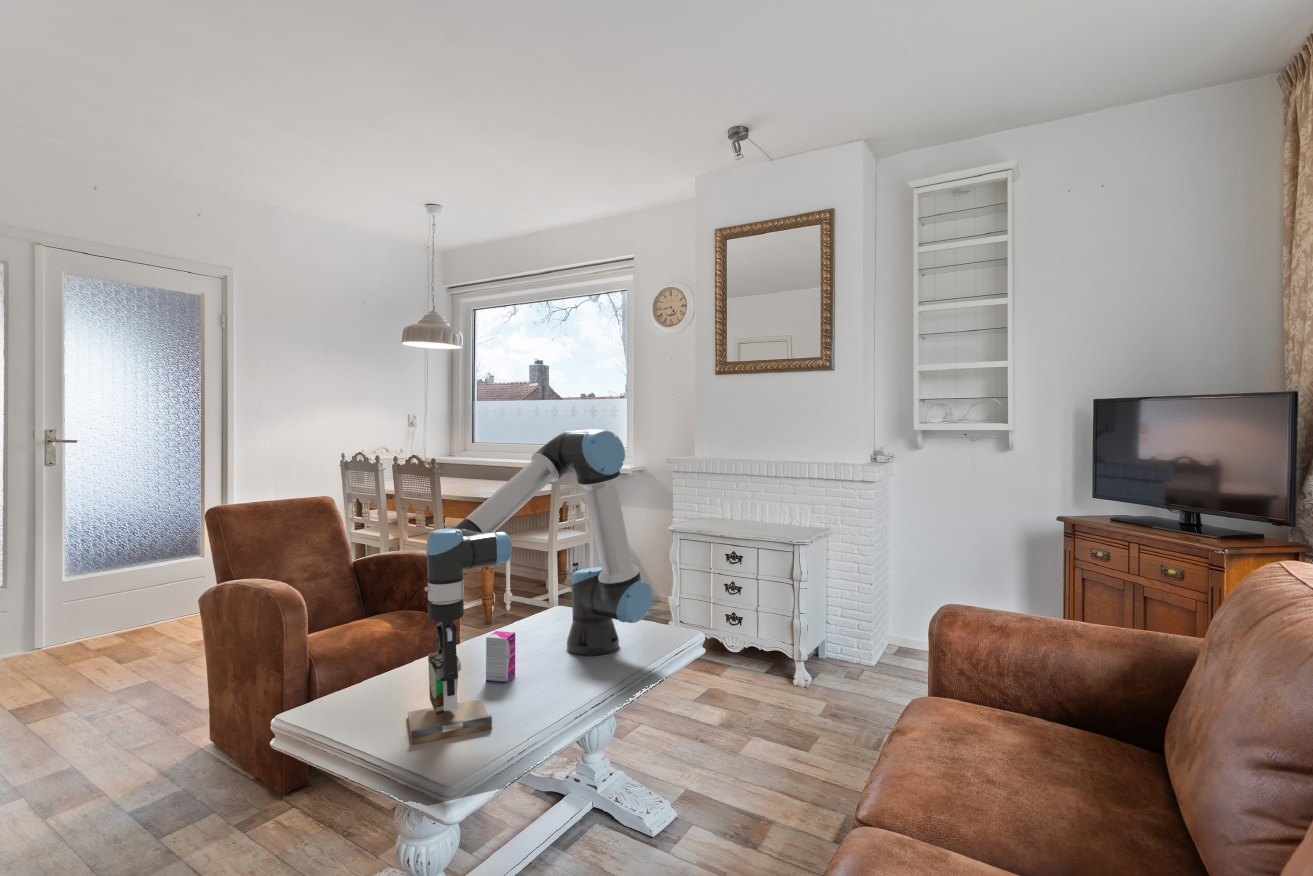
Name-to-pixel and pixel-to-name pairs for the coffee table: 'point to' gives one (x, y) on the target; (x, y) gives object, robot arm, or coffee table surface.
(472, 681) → the coffee table surface
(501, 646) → the supplement box
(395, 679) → the coffee table surface
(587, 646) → the robot arm
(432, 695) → the food container
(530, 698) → the coffee table surface
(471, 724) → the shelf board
